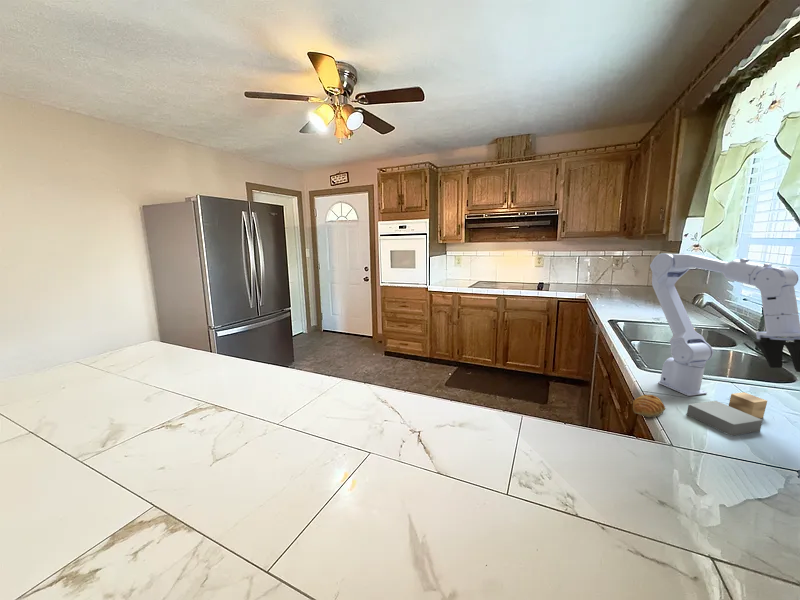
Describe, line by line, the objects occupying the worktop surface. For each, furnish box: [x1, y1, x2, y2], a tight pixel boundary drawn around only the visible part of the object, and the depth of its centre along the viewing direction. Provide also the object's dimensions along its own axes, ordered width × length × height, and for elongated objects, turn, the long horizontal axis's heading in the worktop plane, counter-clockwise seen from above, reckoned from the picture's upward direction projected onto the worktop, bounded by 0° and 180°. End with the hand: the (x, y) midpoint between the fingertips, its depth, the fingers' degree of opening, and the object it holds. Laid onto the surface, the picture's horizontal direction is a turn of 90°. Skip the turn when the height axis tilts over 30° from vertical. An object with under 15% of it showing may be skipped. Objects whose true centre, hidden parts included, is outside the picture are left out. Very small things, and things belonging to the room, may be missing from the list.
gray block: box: [686, 400, 764, 437], centre depth 85 cm, size 10×10×3 cm
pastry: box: [632, 394, 666, 418], centre depth 90 cm, size 9×7×4 cm
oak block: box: [728, 391, 768, 419], centre depth 90 cm, size 5×5×5 cm
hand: (788, 369), depth 82 cm, fingers open, 7 cm apart
